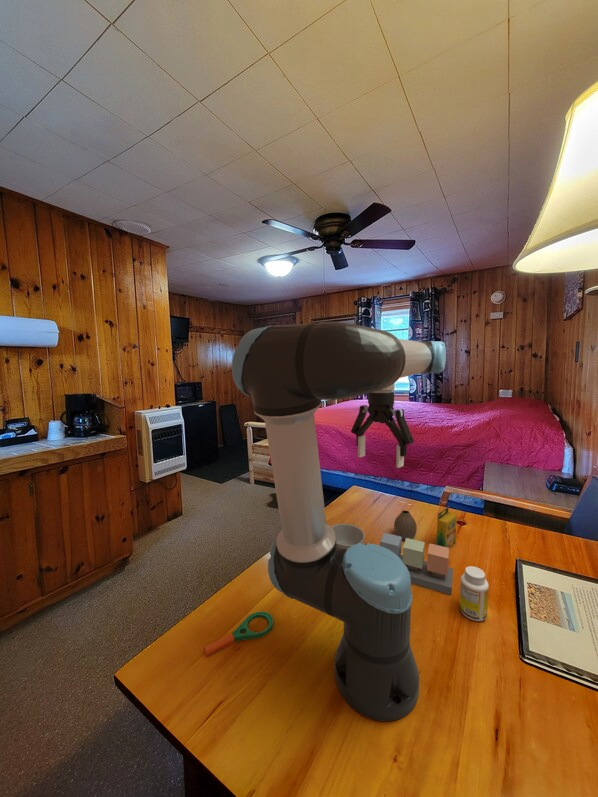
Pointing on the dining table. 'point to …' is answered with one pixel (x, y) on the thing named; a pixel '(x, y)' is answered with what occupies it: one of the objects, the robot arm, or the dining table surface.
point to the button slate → (392, 543)
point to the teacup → (348, 535)
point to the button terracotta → (438, 559)
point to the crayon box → (446, 529)
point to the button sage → (413, 553)
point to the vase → (405, 525)
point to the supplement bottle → (474, 594)
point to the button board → (430, 578)
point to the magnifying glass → (237, 633)
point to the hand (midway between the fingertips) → (379, 461)
